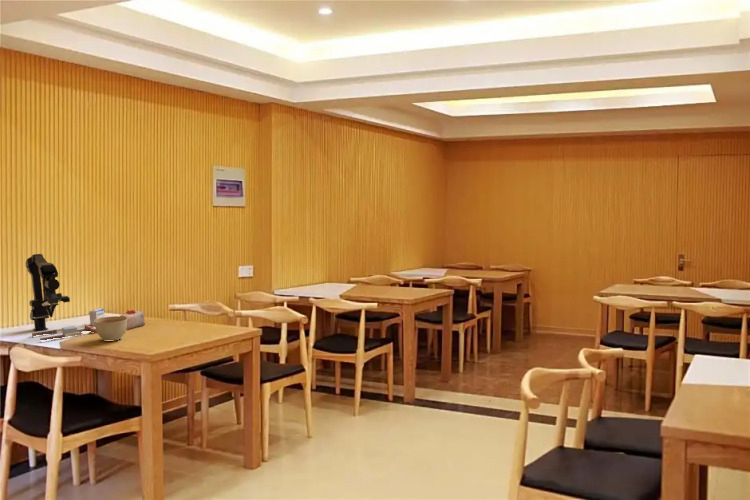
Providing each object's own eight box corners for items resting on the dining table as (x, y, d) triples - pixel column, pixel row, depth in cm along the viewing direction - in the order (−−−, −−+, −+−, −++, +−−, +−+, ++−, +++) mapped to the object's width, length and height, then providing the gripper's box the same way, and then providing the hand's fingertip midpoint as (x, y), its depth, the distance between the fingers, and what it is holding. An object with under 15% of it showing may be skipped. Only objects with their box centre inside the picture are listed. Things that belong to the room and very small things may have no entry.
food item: (126, 330, 383) (125, 313, 382) (116, 329, 387) (115, 312, 386) (146, 325, 395) (145, 308, 393) (136, 324, 399) (135, 307, 397)
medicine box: (97, 326, 396) (96, 311, 395) (90, 326, 397) (89, 310, 396) (105, 323, 404) (104, 308, 403) (98, 322, 405) (97, 308, 404)
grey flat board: (32, 336, 374) (32, 333, 373) (87, 328, 392) (87, 324, 391) (40, 342, 361) (40, 338, 360) (97, 333, 379) (97, 329, 378)
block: (62, 334, 378) (61, 327, 377) (74, 333, 381) (73, 325, 381) (65, 336, 373) (64, 329, 372) (77, 335, 376) (76, 327, 376)
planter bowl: (109, 345, 351) (107, 324, 350) (88, 341, 360) (87, 321, 359) (135, 338, 365) (134, 317, 364) (115, 335, 373) (113, 314, 372)
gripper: (33, 292, 357) (36, 322, 359) (71, 287, 369) (74, 316, 371) (28, 289, 366) (30, 319, 367) (65, 285, 377) (67, 313, 379)
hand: (51, 317), depth 371 cm, fingers closed
